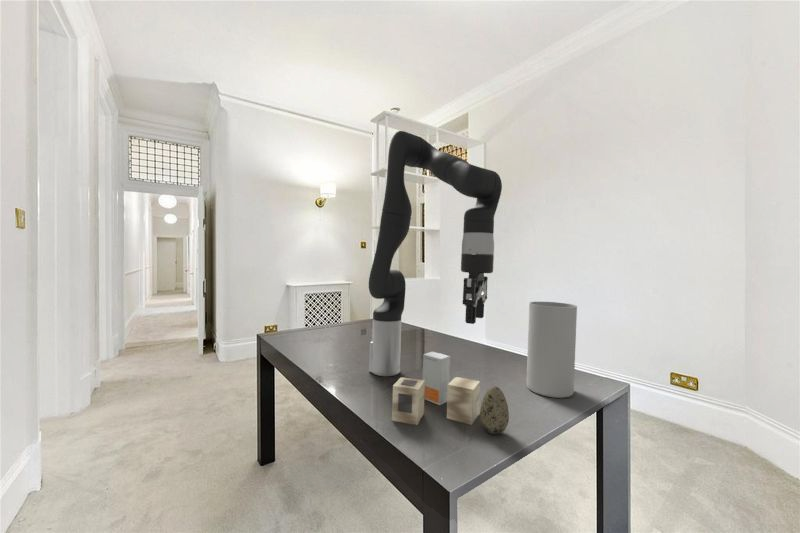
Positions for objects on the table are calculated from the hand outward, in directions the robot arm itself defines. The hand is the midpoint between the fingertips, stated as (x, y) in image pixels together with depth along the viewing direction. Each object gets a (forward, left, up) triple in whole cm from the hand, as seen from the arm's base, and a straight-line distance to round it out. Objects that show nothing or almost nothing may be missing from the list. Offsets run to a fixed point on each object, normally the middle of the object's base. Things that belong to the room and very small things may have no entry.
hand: (474, 320), depth 79 cm
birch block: (-1, -2, -23) cm, 23 cm away
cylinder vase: (+16, +27, -23) cm, 38 cm away
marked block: (-12, -9, -23) cm, 27 cm away
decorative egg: (+7, -6, -23) cm, 24 cm away
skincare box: (-10, +3, -23) cm, 25 cm away
